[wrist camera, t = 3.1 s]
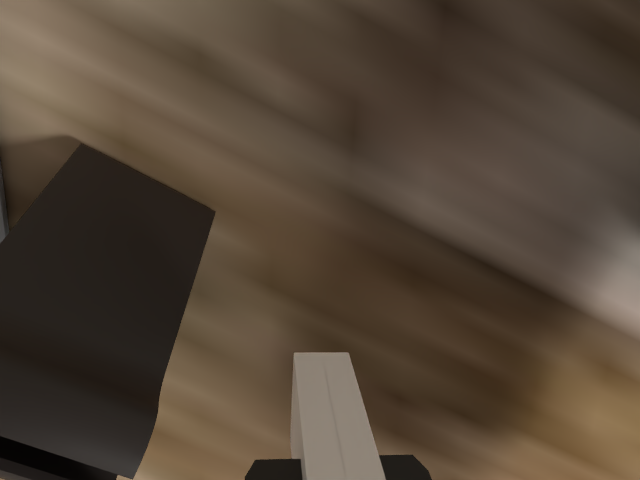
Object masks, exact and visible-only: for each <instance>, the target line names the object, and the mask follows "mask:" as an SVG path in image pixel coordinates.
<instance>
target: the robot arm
mask: <svg viewBox="0 0 640 480" xmlns="http://www.w3.org/2000/svg"><path fill="white" fill-rule="evenodd" d="M290 442H291V456H292V459H269V460H255V461H254V463H253V465H252V466H251V468H250V470H249V471H248V473H247V475H246V476H245V480H432V479H431V477H430V474H429V472H428V470H427V469H426V468H425V467H424V466H423V465H422V464H421V463H420V462H419V461H418V460H417V459H416V458H415V457H414V456H413V455H379V454H378V451H377V448H376V444H375V441H374V437H373V434H372V431H371V427H370V424H369V420H368V417H367V414H366V410H365V407H364V403H363V400H362V397H361V393H360V390H359V386H358V383H357V380H356V376H355V373H354V369H353V366H352V363H351V359H350V356H349V352H307V353H294V358H293V383H292V407H291V431H290Z"/></svg>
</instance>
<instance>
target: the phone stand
mask: <svg viewBox="0 0 640 480" xmlns="http://www.w3.org/2000/svg"><path fill="white" fill-rule="evenodd" d="M214 215H215V211H213V210H211V209H209V208H208V207H206V206H204V205H202V204H200V203H198V202H196V201H194V200H192V199H190V198H188V197H186V196H184V195H182V194H180V193H178V192H176V191H174V190H172V189H170V188H168V187H166V186H164V185H162V184H160V183H158V182H157V181H155V180H153V179H151V178H149V177H147V176H145V175H143V174H141V173H139V172H137V171H135V170H133V169H131V168H129V167H127V166H125V165H123V164H121V163H119V162H117V161H115V160H113V159H111V158H109V157H107V156H106V155H104V154H102V153H100V152H98V151H96V150H94V149H92V148H90V147H88V146H86V145H84V144H82V143H81V144H80V146H79V147H78V148H77V149H76V151H75V152H74V153H73V154H72V156H71V157H70V158H69V159H68V160H67V162H66V163H65V164H64V165H63V167H62V168H61V169H60V170H59V172H58V173H57V174H56V175H55V177H54V178H53V179H52V180H51V181H50V183H49V184H48V185H47V186H46V188H45V189H44V190H43V191H42V193H41V194H40V195H39V196H38V198H37V199H36V200H35V201H34V203H33V204H32V205H31V206H30V207H29V209H28V210H27V211H26V212H25V214H24V215H23V216H22V217H21V219H20V220H19V221H18V222H17V224H16V225H15V226H14V227H13V228H12V230H11V231H10V232H9V233H8V235H7V236H6V237H5V238H4V240H3V241H2V242H1V243H0V478H1V479H5V480H116V478H117V475H121V476H124V477H127V478H130V479H133V478H134V476H135V474H136V472H137V469H138V467H139V465H140V463H141V460H142V458H143V456H144V453H145V451H146V448H147V446H148V443H149V440H150V438H151V435H152V432H153V428H154V425H155V422H156V418H157V413H158V405H159V396H160V391H161V386H162V382H163V378H164V375H165V371H166V368H167V365H168V362H169V359H170V355H171V352H172V349H173V346H174V343H175V339H176V336H177V333H178V330H179V327H180V324H181V320H182V317H183V314H184V311H185V308H186V304H187V301H188V298H189V295H190V292H191V289H192V285H193V282H194V279H195V276H196V273H197V270H198V266H199V263H200V260H201V257H202V254H203V250H204V247H205V244H206V241H207V238H208V235H209V231H210V228H211V225H212V222H213V219H214Z"/></svg>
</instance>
